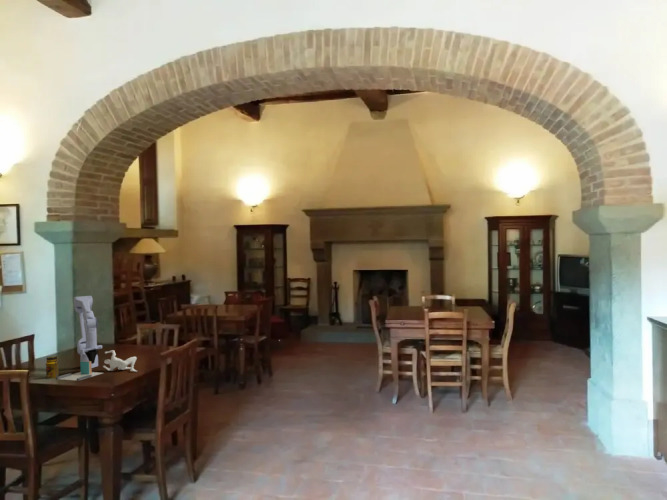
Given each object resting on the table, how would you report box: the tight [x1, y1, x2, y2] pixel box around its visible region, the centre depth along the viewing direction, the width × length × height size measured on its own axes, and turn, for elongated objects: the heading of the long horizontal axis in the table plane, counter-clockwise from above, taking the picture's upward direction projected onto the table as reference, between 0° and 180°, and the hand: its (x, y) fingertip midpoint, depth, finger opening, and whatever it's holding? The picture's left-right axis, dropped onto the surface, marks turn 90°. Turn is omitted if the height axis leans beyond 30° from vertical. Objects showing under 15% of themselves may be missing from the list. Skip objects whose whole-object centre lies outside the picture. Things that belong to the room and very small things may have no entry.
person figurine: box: [102, 349, 138, 373], centre depth 303 cm, size 13×13×18 cm
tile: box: [79, 360, 93, 374], centre depth 297 cm, size 2×6×7 cm, turn 70°
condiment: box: [45, 355, 60, 380], centre depth 291 cm, size 7×8×12 cm
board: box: [55, 371, 103, 382], centre depth 292 cm, size 18×16×2 cm
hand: (91, 363), depth 301 cm, fingers closed
